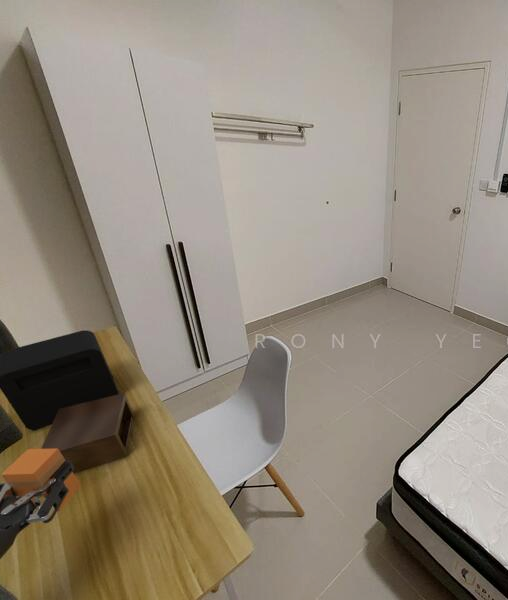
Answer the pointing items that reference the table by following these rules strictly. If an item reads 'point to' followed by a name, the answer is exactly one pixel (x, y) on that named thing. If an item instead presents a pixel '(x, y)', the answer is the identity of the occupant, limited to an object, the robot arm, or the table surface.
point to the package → (37, 472)
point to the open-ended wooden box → (91, 432)
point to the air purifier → (54, 377)
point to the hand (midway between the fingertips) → (54, 463)
